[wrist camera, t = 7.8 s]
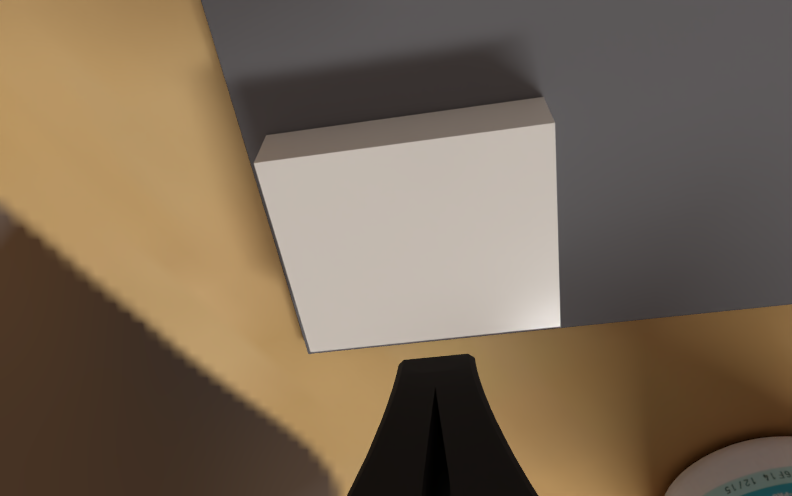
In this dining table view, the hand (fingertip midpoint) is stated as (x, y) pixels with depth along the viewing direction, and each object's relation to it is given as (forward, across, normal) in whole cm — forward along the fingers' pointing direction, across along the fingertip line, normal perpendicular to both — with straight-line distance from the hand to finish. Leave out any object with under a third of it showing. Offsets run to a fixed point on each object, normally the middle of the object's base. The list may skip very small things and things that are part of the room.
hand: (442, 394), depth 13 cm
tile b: (+6, -3, 0) cm, 7 cm away
